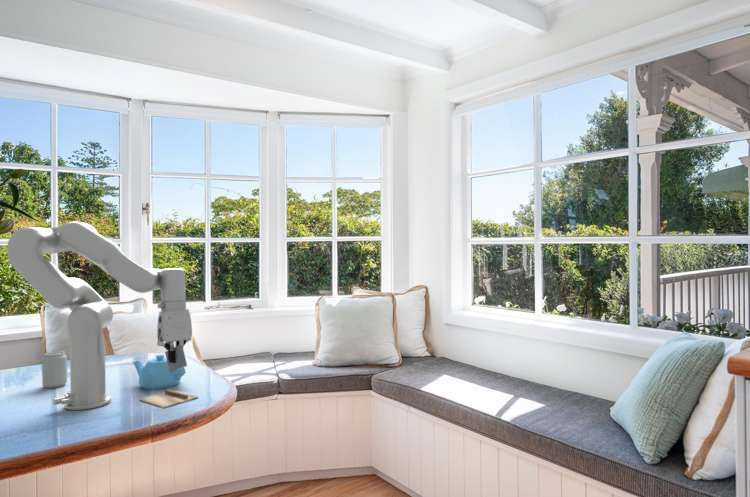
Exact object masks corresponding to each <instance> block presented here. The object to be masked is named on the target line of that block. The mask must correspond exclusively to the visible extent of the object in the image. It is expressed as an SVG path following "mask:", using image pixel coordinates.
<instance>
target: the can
mask: <svg viewBox="0 0 750 497" xmlns="http://www.w3.org/2000/svg"><path fill="white" fill-rule="evenodd" d="M65 353H66V352H65V351H62V350H61V351H59V350H58V351H51V352H47V353H44V356H43V357H42V358H41V361H42V362H41V366H42V368H41V369H42V370H41V372H42V375H41V376H42V377H41V378H42V387H44V388H46V389H55V388H60V387H64V386H65V385H66V384H67V383H68V357H67V356H68V355H67V354H65Z"/></svg>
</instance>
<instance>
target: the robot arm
mask: <svg viewBox="0 0 750 497" xmlns="http://www.w3.org/2000/svg"><path fill="white" fill-rule="evenodd" d="M65 252H75V253H76V254H78V255H79V256H81V257H82V258H84V259H86V260H88V261H90V262H91V263H93V264H95V265H96V266H98V268H100V269H101V270H102V271H104V272H105V273H107V275H109V276H110V277H111V278H112V279H114V280H115V281H117V282H119V283H120V284H122V285H123V286H125V287H127V288H129V289H130V290H132V291H134V292H136V293H140V294H146V293H149V292H154V291H158V290H160V303H158V304H157V308H158V309H160V311H159V312H158V318H157V329H156V331H157V332H156V338H157V343H156V345H157V346H158V347H163V348H164V349H165V350H166V351H168V360H169V362H170V363H176V355H175V351H174V347H176V346H179V345H182V347H183V348H184V346H185V345H186V344H187V343H188V342H190V341H192V336H193V326H192V319H191V314H190V309H189V308H187V298H186V296H187V295H186V271H185V269H183V268H181V267H179V268H178V267H173V268H172V267H169V268H162V269H161V268H152V267H151V268H150V267H148V268H147V267H146V268H145V267H143V266H142V265H140V264H138V263H137V262H135V261H133V260H132V259H131V258H129V257H127V255H125V254H124V253H123V251H122V250H121V248H120V246H119V245H118V244H116V243H114V242H113V241H112V240H110V239H108V238H107V237H104V235H101V234H100V233H98V231H97V229H96V228H95V227H94V226H93V225H92V224H90V223H86V222H81V221H70V222H67V223H65V224H63V225H62V226H55V227H54V226H53V227H47V228H46V227H40V226H39V227H37V226H26V227H22V228H19V229H17V230H15V231H14V232H13V233H12V234H11V235H10V237H9V239H8V240H7V246H6V254H7V259H8V261H9V263H10V264H11V266H12V267H13V268H14V269H15V271H16V272H17V273H18V274H19V275H20V276H21V277H22V278H23V279H24V280H25V281H26V282H28V284H29V285H30V286H31V287H32V288H33V289H34V290H35V291H36V292H37V293H39V294H38V295H41V297H42V298H43V299H44V300H45V301H46V302H47V303H48V304H49V305H50V306H51V307H53V308H54V309H58V310H59V309H60V310H61V309H69V310H70V311H71V312H70V313H69V315H68V316H67V322H66V328H67V332H68V333H67V334H68V340H69V359H70V360H69V366H70V367H69V368H70V370H69V371H70V376H69V377H70V391H67V392H66V394H65V395H64V396H62V397H55V398H52V405H53V406H56V405H60V404H61V405H64V408H65V409H66V410H71V411H83V410H90V409H95V408H99V407H102V406H105V405H107V404H110V402H111V401H112V397H111V395H108V394H107V393H106V392H107V391H106V387H107V384H106V341H105V335H104V328H106V327H108V326H109V325H110V323H112V321H113V317H114V313H113V309H112V307H111V306H110V305H109V303H108V302H107V301H106V300H105V299H104V298H103V297H102V296H101V295H100V294H99V293H98V292H97V291H96V290H95V289H94V288H93V287H92V286H91V285H90V284H89V283H88V282H86V281H85V280H83V279H82V278H78V277H68V276H66V274H65V273H63V272H62V271H61V270H60V269H59V268H58V267H57V266H56V265H55V264H54V263H53V262H52V261H51V260H49V259H47V258H46V257H45V256H44V255H51V254H58V253H65Z"/></svg>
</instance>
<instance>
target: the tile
mask: <svg viewBox="0 0 750 497" xmlns="http://www.w3.org/2000/svg"><path fill="white" fill-rule="evenodd" d="M174 351H175V355H176V363H170V362H169V360H168V350H166V351H165V352H164V353H165V354H164V355H165V358H166V359H167V363H168V367H169V371H170V373H171V372H175V371H177V370H179V369H181V368H186V367H188V364H187V359H186V355H185V352H184V351H185V350H184V346H183V347H182V345H179V346H176V347H175V346H174Z"/></svg>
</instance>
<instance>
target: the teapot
mask: <svg viewBox="0 0 750 497" xmlns="http://www.w3.org/2000/svg"><path fill="white" fill-rule="evenodd" d="M133 365H134V367H135V370H136V372H137V374H138V377H139V378H138V384H139V385H140V387H142V389H144V390H146V389H147V390H161V388H163V389H168V388H171V386H172V387H174V385H175V386H176V385H178V383H179V382H180V381H181V379H182V377H183V376H184V375H185V374H186V367H184V368H181V369H179V370H177V371H175V372H171V373H170V371H169V367H168V363H167V359H166V357H165V354H157V355H155V358H152V359H149V360H147V362H146V363H145V364H144V365H143V364H142V363H141V361H140V360H135V361H133ZM167 387H168V388H167Z"/></svg>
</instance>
